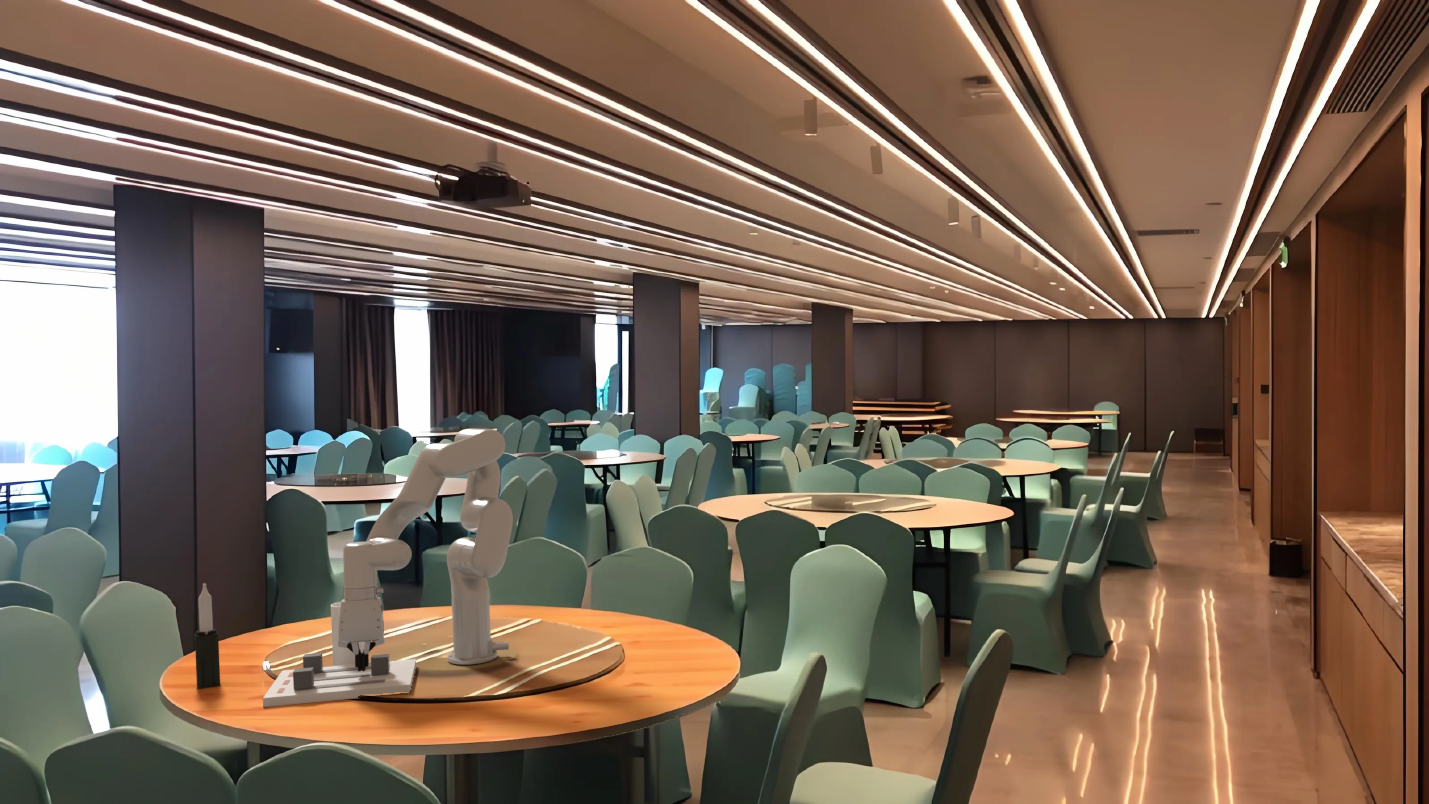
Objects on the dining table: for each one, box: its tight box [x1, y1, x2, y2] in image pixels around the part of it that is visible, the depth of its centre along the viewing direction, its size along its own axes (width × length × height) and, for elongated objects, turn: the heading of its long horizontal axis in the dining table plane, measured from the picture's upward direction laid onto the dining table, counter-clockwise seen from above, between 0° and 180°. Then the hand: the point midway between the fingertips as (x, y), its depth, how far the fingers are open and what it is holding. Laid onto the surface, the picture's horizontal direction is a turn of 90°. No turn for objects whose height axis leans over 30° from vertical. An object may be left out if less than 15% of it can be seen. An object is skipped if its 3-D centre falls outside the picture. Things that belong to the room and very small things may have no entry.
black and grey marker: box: [194, 582, 221, 690], centre depth 256 cm, size 5×5×25 cm
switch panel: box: [262, 652, 417, 708], centre depth 252 cm, size 32×24×6 cm
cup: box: [330, 601, 365, 666], centre depth 271 cm, size 8×8×16 cm
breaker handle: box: [370, 653, 390, 675], centre depth 254 cm, size 4×3×4 cm
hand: (362, 669), depth 252 cm, fingers closed
